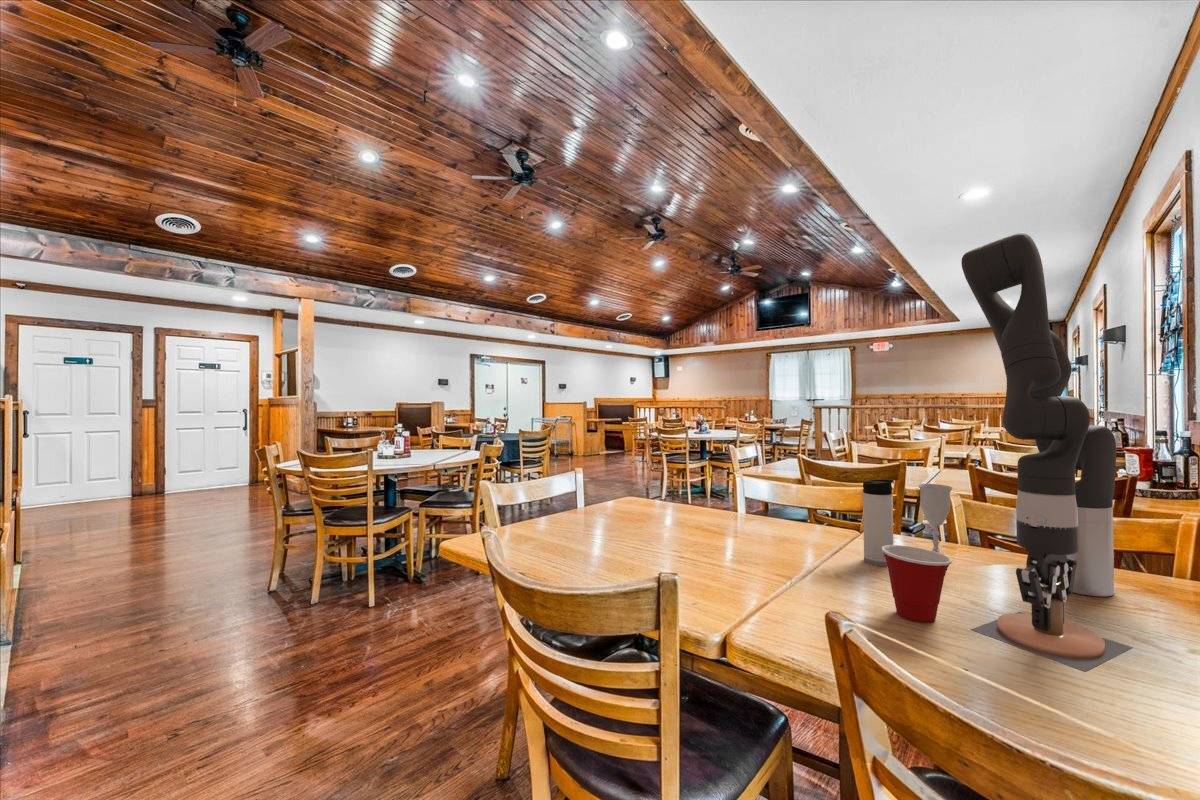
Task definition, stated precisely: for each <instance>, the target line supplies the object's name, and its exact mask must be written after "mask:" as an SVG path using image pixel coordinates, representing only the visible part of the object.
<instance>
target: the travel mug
mask: <svg viewBox="0 0 1200 800" xmlns="http://www.w3.org/2000/svg"><path fill="white" fill-rule="evenodd" d="M892 484H895V480H894V479H893V478H890V479H870V480H869V479H868V480H865V481H864V482H863V483H862V514H863V515H862V516H863V517H862V520H863V521H862V522H863V526H862V527H863V529H862V530H863V561H864V562H865V563H867V564H868V563H869V565H871V564H872V566H875V565H877V566H876V567H887V562H886V558H885V555H884V552H882V547H883V546H886V545H894V513H893V512H894V508H893V506H894V501H893V499H894V498H893V486H892Z"/></svg>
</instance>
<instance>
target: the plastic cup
mask: <svg viewBox="0 0 1200 800" xmlns="http://www.w3.org/2000/svg"><path fill="white" fill-rule="evenodd" d="M931 550H932V549H931ZM931 550H930V549H927V548H922V547H917V546H916V547H915V546H909V545H900V544H893V545H886V546H883V547H882V552H884V555H885V558H886V562H887V566H886V568H887V569H888V570H887V571H888V575H889V581H890V587H891V588H890V589H891V592H892V598H893V599H894V600H893V601H894V605H895V611H896V613H897V616H899V617H900V618H901V619H904V620H906V621H910V622H912V623H913V622H914V623H918V624H929V623H933V622H935V621H936V619H937V612H938V608H939V605H940V601H941V596H942V590H943V585H944V579H945V576H946V575H947V571H948V568H949V566H950V565H951V564H952V563H953V560H952V558H951V557H950V556H948V555H946V554H945V553H944V554H945V555H944V554H941V553H938V552H935V551H931Z"/></svg>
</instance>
